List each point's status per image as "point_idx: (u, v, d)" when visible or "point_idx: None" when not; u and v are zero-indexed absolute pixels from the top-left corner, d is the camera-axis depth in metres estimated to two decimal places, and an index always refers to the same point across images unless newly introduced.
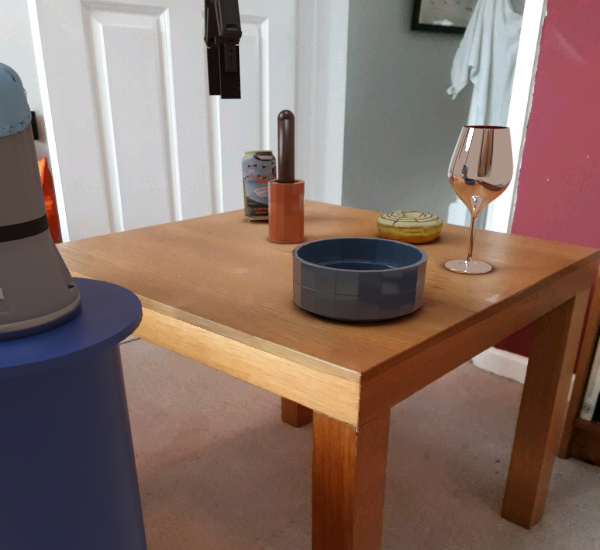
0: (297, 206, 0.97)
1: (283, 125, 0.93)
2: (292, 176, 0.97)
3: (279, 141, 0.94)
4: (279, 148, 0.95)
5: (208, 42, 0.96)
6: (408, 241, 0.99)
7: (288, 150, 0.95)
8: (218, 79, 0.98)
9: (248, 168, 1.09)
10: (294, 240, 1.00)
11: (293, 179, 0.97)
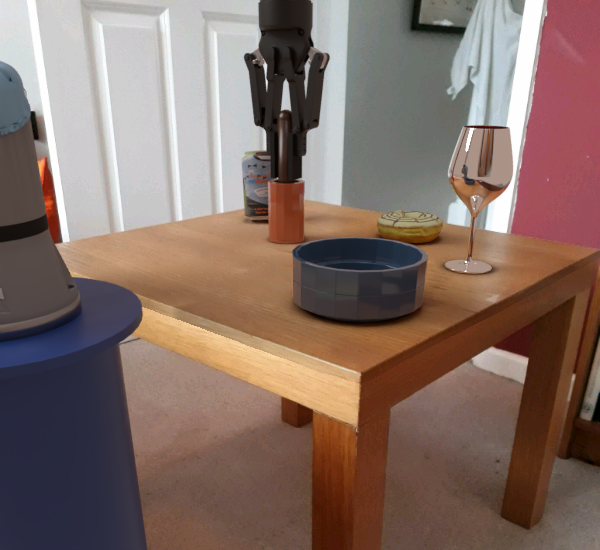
0: (297, 206, 0.97)
1: (283, 125, 0.93)
2: None
3: (279, 141, 0.94)
4: (279, 148, 0.95)
5: (271, 123, 0.94)
6: (408, 241, 0.99)
7: None
8: None
9: (248, 168, 1.09)
10: (294, 240, 1.00)
11: None
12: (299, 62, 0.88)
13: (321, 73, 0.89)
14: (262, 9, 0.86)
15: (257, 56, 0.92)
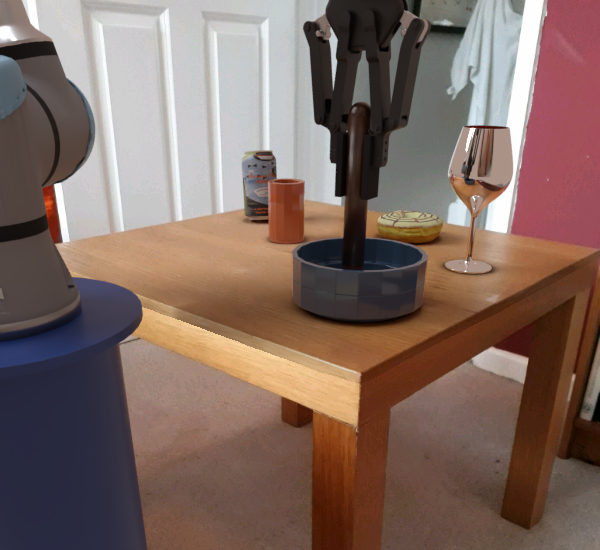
0: (297, 206, 0.97)
1: (357, 124, 0.66)
2: None
3: (350, 146, 0.68)
4: (350, 156, 0.68)
5: (339, 121, 0.67)
6: (408, 241, 0.99)
7: None
8: None
9: (248, 168, 1.09)
10: (294, 240, 1.00)
11: None
12: (386, 33, 0.61)
13: (417, 49, 0.62)
14: None
15: (322, 26, 0.65)
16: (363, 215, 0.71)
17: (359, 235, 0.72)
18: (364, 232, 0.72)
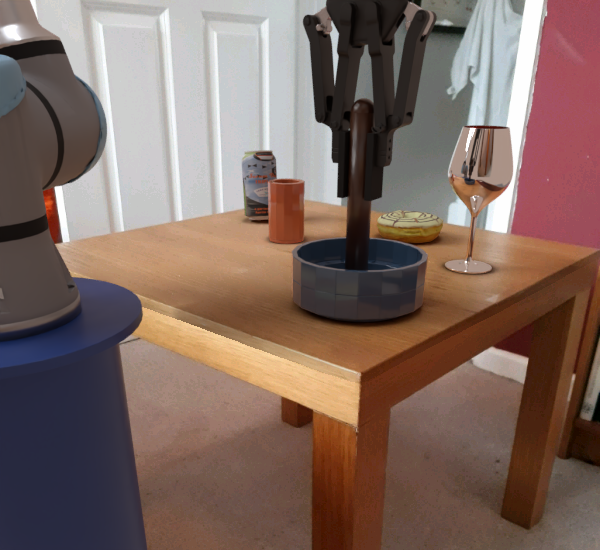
0: (297, 206, 0.97)
1: (360, 121, 0.63)
2: None
3: (353, 145, 0.65)
4: (352, 155, 0.65)
5: (341, 119, 0.64)
6: (408, 241, 0.99)
7: None
8: None
9: (248, 168, 1.09)
10: (294, 240, 1.00)
11: None
12: (389, 26, 0.59)
13: (422, 42, 0.59)
14: None
15: (323, 19, 0.62)
16: (366, 216, 0.68)
17: (362, 238, 0.69)
18: (368, 234, 0.69)
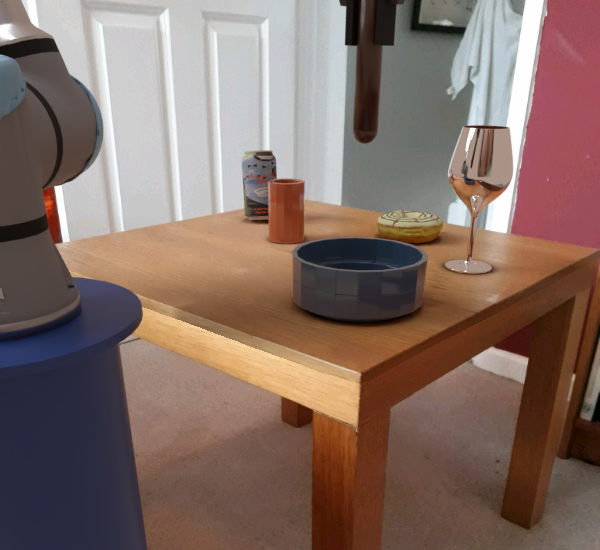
0: (297, 206, 0.97)
1: None
2: None
3: None
4: None
5: None
6: (408, 241, 0.99)
7: None
8: None
9: (248, 168, 1.09)
10: (294, 240, 1.00)
11: (381, 47, 0.61)
12: None
13: None
14: None
15: None
16: (377, 66, 0.62)
17: (372, 92, 0.63)
18: (378, 88, 0.63)
